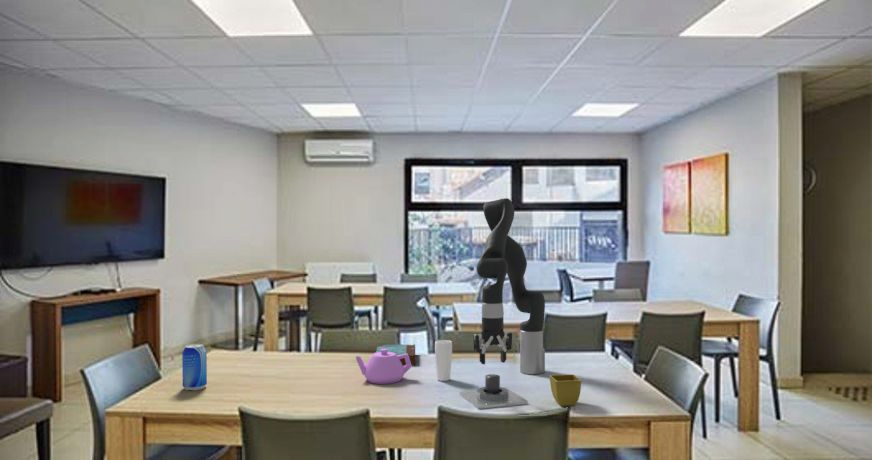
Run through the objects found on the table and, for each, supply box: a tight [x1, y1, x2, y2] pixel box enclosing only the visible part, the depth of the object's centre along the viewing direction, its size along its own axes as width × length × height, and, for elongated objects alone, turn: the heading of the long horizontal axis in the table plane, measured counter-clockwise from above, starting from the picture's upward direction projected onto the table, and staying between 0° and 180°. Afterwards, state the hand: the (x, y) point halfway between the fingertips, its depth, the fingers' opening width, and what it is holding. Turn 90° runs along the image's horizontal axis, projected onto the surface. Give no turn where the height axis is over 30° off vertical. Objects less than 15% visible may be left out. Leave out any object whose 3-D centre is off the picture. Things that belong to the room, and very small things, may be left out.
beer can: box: [181, 343, 208, 391], centre depth 227 cm, size 8×8×16 cm
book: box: [375, 344, 416, 366], centre depth 272 cm, size 23×18×5 cm
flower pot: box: [549, 373, 582, 407], centre depth 205 cm, size 9×9×9 cm
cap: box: [484, 373, 501, 393], centre depth 211 cm, size 5×5×7 cm
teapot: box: [355, 349, 413, 385], centre depth 238 cm, size 22×16×12 cm
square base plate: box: [459, 386, 529, 410], centre depth 211 cm, size 18×18×3 cm
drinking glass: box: [434, 339, 453, 382], centre depth 237 cm, size 7×7×15 cm
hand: (492, 362), depth 211 cm, fingers open, 7 cm apart
